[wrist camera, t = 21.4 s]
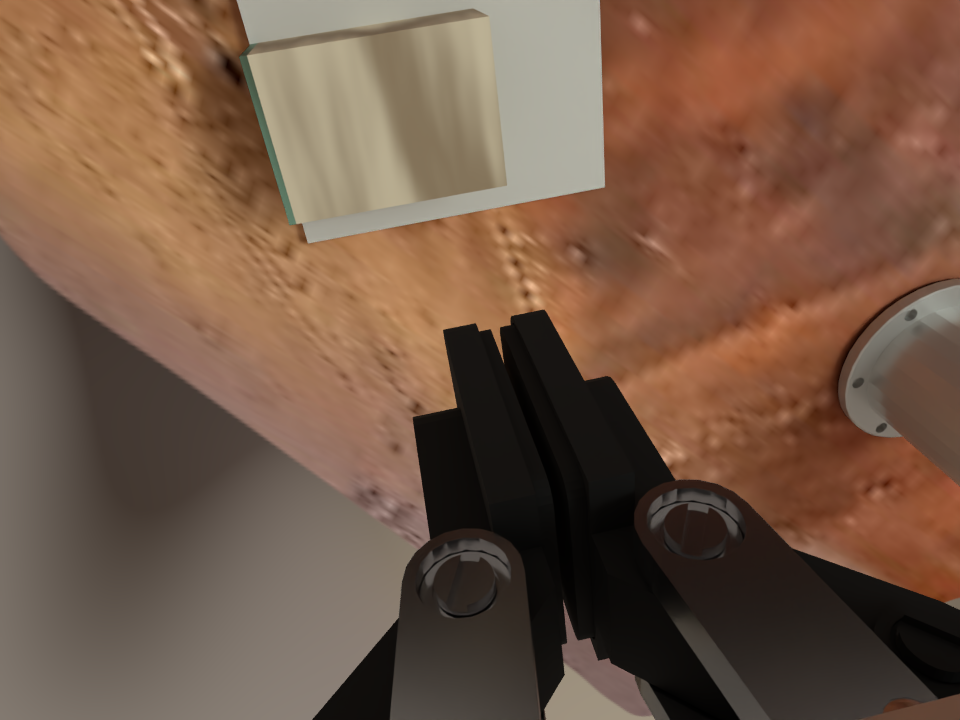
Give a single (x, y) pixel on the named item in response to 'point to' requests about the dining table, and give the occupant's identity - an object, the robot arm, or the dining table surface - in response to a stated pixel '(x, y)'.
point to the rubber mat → (520, 87)
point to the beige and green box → (379, 114)
